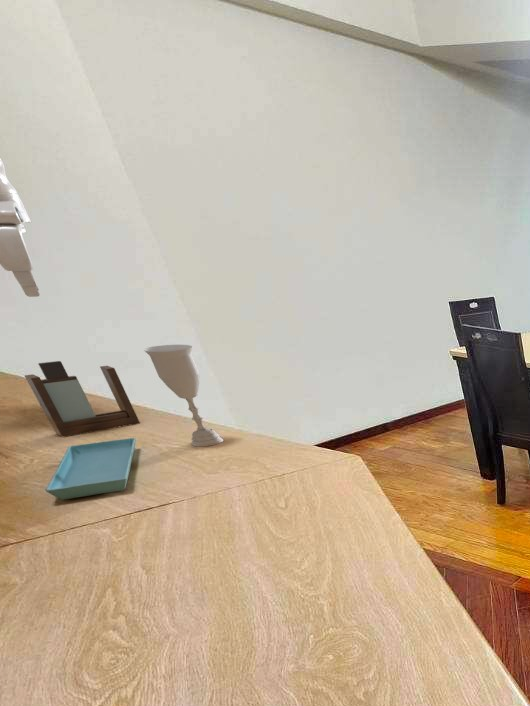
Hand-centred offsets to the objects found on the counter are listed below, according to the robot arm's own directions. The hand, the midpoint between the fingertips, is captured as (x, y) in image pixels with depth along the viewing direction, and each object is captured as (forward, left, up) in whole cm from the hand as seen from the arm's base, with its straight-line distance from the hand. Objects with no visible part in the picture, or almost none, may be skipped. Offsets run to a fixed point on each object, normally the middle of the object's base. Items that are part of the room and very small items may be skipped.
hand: (33, 293), depth 113 cm
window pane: (-4, -6, -23) cm, 25 cm away
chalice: (+7, -32, -25) cm, 42 cm away
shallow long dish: (-10, -37, -25) cm, 46 cm away
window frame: (-2, -6, -25) cm, 26 cm away
